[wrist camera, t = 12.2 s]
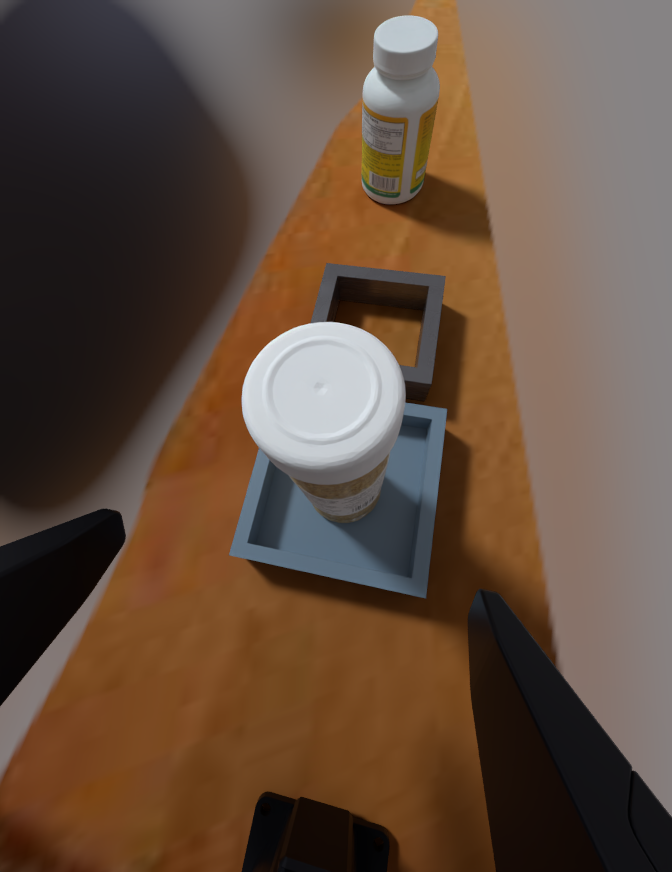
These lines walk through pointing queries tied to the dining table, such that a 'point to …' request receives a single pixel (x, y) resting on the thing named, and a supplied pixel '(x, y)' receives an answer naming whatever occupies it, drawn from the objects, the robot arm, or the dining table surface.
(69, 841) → the dining table surface
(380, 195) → the supplement bottle
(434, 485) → the tray
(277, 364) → the sprinkles bottle
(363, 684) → the dining table surface
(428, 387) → the bottle holder
